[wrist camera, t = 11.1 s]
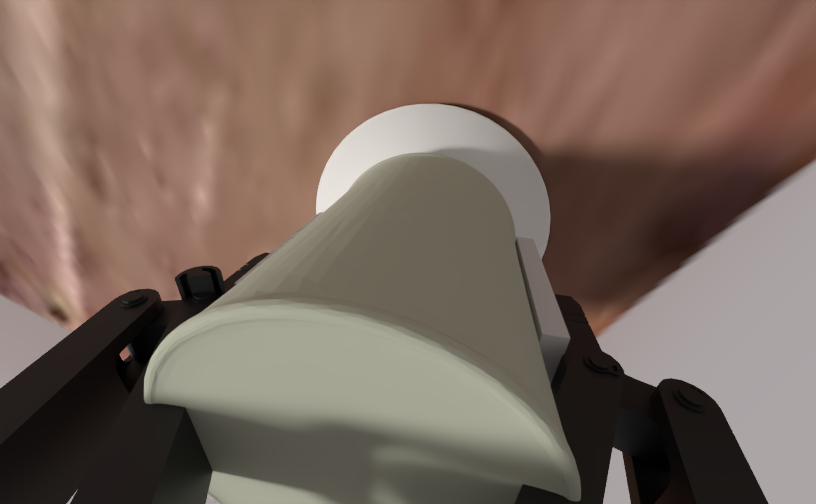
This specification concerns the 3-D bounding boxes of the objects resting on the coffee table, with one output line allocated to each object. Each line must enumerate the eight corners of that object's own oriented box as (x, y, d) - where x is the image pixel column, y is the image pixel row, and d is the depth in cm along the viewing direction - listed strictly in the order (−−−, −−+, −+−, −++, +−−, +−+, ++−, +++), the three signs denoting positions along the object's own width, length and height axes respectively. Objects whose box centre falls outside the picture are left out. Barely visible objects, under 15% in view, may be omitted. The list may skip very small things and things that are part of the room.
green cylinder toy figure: (433, 338, 20) (386, 629, 9) (309, 246, 18) (83, 468, 8) (557, 238, 15) (734, 576, 5) (407, 106, 14) (193, 182, 3)
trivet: (327, 300, 22) (324, 305, 22) (311, 94, 16) (305, 94, 16) (518, 332, 21) (519, 338, 20) (581, 113, 14) (585, 114, 14)
